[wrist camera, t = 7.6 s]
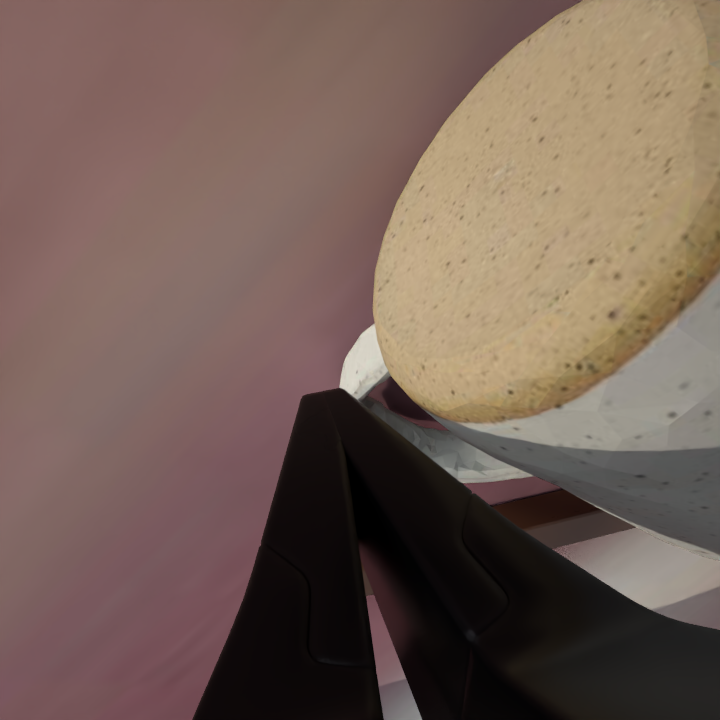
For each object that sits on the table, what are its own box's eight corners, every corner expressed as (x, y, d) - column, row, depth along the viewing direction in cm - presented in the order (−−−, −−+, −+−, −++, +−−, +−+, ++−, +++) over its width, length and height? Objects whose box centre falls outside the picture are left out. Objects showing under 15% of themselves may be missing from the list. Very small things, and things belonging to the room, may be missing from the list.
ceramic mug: (536, -72, 9) (1166, -135, 3) (757, 173, 13) (1226, 350, 7) (245, 385, 13) (283, 736, 7) (480, 468, 17) (632, 740, 11)
